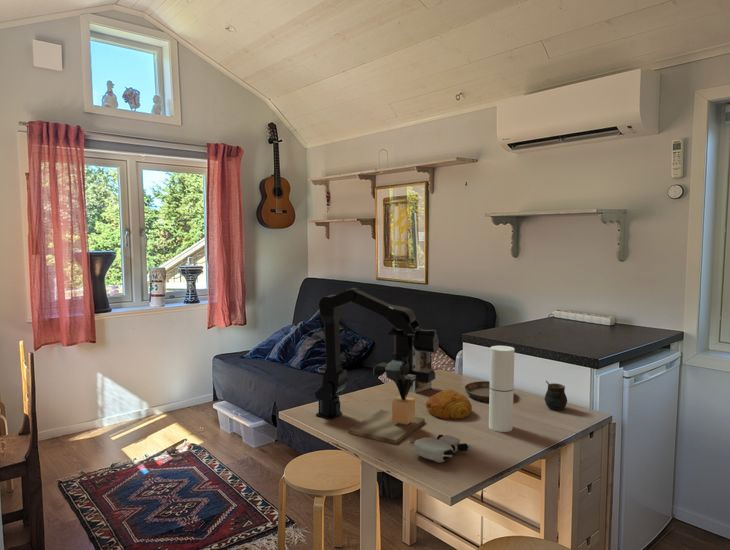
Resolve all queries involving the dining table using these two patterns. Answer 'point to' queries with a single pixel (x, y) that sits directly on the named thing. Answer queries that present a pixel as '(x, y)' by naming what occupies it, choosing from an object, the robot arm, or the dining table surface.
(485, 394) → the plant saucer
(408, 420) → the orange rectangular block
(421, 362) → the coffee box
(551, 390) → the mate gourd
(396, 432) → the base board
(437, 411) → the croissant
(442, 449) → the robot toy
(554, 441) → the dining table surface
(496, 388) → the cylindrical container
